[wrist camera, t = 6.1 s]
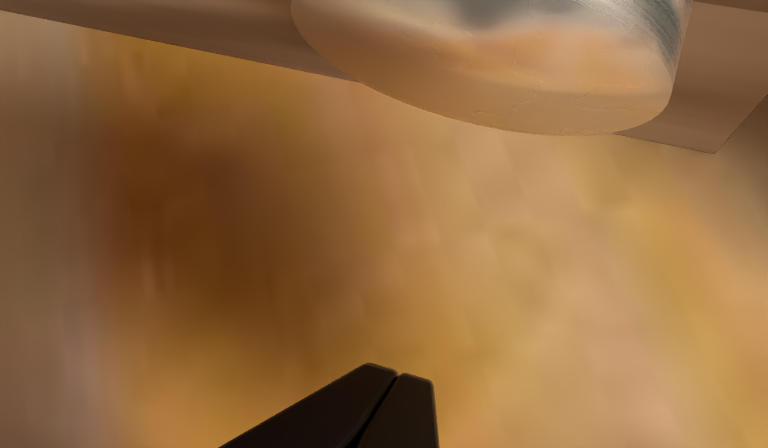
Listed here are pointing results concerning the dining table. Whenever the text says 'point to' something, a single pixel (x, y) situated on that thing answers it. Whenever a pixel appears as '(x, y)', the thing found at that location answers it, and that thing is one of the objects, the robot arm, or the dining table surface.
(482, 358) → the dining table surface
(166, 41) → the block
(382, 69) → the silver rounded piece
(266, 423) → the robot arm
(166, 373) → the dining table surface
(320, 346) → the dining table surface
